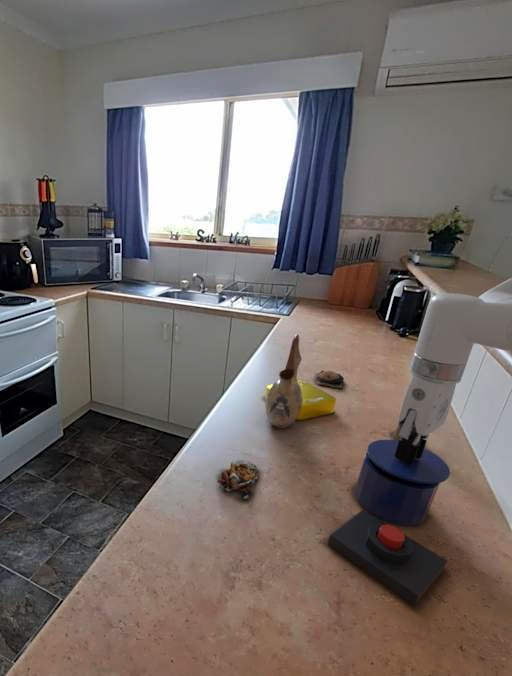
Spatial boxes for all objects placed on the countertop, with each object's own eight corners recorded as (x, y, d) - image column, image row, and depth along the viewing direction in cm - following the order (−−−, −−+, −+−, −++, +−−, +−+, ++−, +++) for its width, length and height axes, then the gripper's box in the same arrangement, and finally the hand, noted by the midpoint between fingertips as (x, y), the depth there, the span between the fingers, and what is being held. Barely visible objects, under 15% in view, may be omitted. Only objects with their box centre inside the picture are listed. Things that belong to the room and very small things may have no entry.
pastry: (262, 469, 87) (264, 455, 86) (247, 501, 77) (250, 486, 76) (231, 459, 90) (233, 446, 89) (213, 489, 80) (215, 475, 79)
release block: (443, 570, 64) (451, 552, 63) (413, 606, 58) (422, 587, 57) (359, 518, 75) (365, 501, 73) (327, 544, 68) (332, 526, 67)
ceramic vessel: (269, 407, 115) (283, 324, 105) (301, 415, 111) (319, 329, 102) (255, 433, 101) (271, 340, 91) (291, 443, 98) (312, 347, 88)
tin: (436, 508, 78) (450, 472, 75) (408, 535, 71) (422, 498, 68) (373, 474, 87) (383, 442, 84) (342, 496, 80) (352, 461, 77)
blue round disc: (459, 469, 74) (470, 441, 72) (430, 497, 67) (441, 466, 64) (386, 437, 84) (393, 411, 82) (352, 458, 76) (359, 430, 74)
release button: (405, 543, 65) (408, 535, 64) (395, 553, 63) (398, 545, 62) (383, 529, 67) (386, 521, 67) (373, 538, 65) (375, 530, 65)
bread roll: (342, 390, 129) (345, 380, 128) (315, 384, 132) (317, 374, 131) (342, 378, 138) (345, 368, 137) (317, 373, 141) (319, 364, 140)
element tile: (296, 421, 108) (299, 405, 106) (261, 398, 121) (264, 383, 119) (336, 412, 114) (340, 397, 112) (299, 391, 126) (302, 377, 125)
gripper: (442, 385, 61) (409, 483, 68) (478, 364, 70) (446, 453, 77) (392, 369, 66) (366, 462, 73) (431, 352, 75) (405, 436, 82)
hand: (407, 457), depth 75 cm, fingers closed on blue round disc, 2 cm apart
